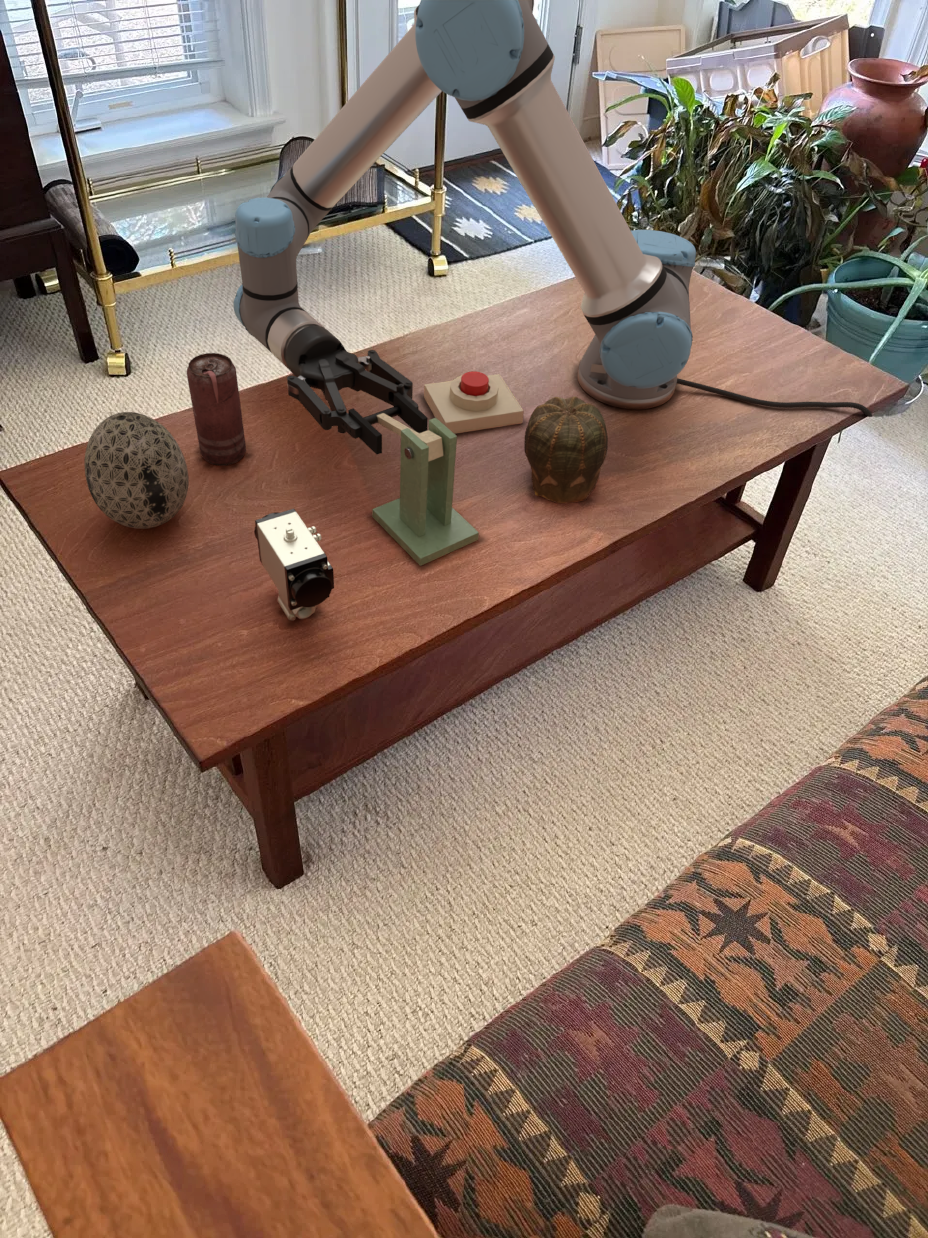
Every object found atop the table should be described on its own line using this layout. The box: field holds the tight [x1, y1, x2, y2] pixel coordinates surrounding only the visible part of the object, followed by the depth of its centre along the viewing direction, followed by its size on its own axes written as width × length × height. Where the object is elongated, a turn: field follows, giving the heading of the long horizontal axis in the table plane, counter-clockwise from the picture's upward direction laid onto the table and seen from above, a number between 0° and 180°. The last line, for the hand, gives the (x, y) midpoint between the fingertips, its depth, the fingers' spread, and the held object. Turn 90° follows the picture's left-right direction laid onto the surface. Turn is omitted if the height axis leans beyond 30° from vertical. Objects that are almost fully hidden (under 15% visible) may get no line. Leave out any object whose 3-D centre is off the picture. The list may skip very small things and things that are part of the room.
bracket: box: [371, 417, 480, 567], centre depth 116 cm, size 11×9×15 cm
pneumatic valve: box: [253, 508, 335, 621], centre depth 107 cm, size 6×12×12 cm, turn 30°
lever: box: [362, 405, 443, 462], centre depth 116 cm, size 13×6×2 cm, turn 36°
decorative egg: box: [84, 411, 190, 530], centre depth 114 cm, size 12×12×15 cm
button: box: [461, 370, 489, 396], centre depth 137 cm, size 4×4×2 cm
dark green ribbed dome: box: [523, 395, 609, 504], centre depth 126 cm, size 11×11×12 cm
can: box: [186, 352, 247, 467], centre depth 125 cm, size 6×6×14 cm
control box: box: [423, 373, 525, 435], centre depth 139 cm, size 12×10×4 cm
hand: (402, 435), depth 117 cm, fingers closed on lever, 6 cm apart
